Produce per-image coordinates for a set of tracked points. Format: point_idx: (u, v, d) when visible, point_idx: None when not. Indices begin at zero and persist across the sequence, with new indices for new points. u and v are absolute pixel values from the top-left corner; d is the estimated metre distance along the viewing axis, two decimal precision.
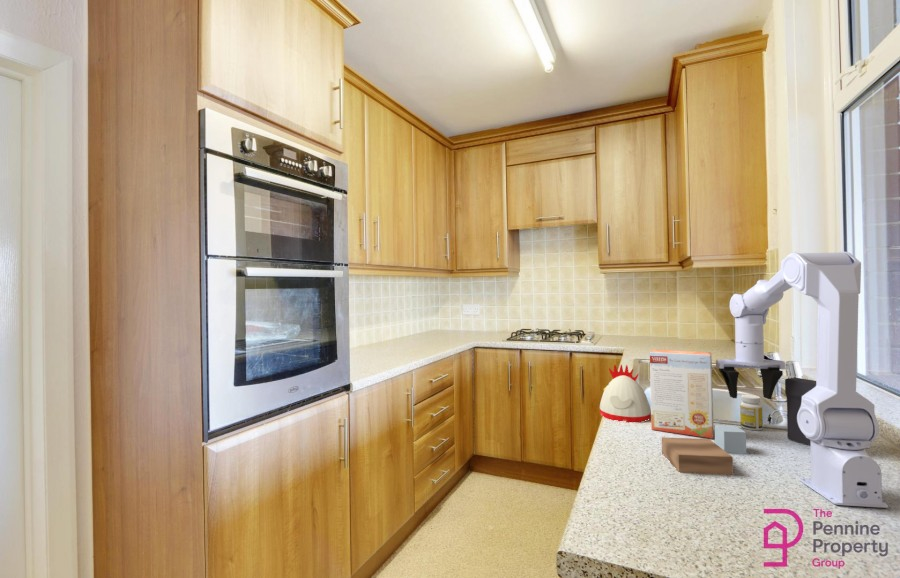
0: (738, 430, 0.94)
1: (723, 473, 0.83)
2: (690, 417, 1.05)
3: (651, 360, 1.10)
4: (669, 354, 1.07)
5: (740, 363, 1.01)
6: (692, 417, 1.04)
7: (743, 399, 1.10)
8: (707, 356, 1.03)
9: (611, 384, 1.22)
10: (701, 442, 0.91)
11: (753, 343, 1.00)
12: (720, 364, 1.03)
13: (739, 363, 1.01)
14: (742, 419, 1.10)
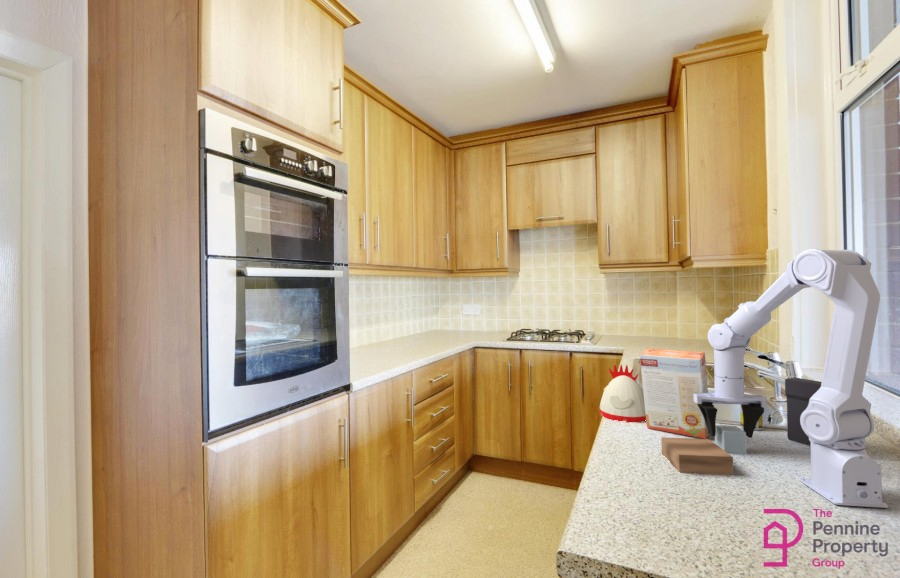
0: (738, 430, 0.94)
1: (723, 473, 0.83)
2: (683, 418, 1.04)
3: (642, 363, 1.08)
4: (659, 357, 1.05)
5: (719, 399, 0.94)
6: (685, 418, 1.04)
7: None
8: (696, 360, 0.99)
9: (611, 384, 1.22)
10: (701, 442, 0.91)
11: (733, 378, 0.93)
12: (698, 399, 0.96)
13: (718, 399, 0.94)
14: (742, 419, 1.10)
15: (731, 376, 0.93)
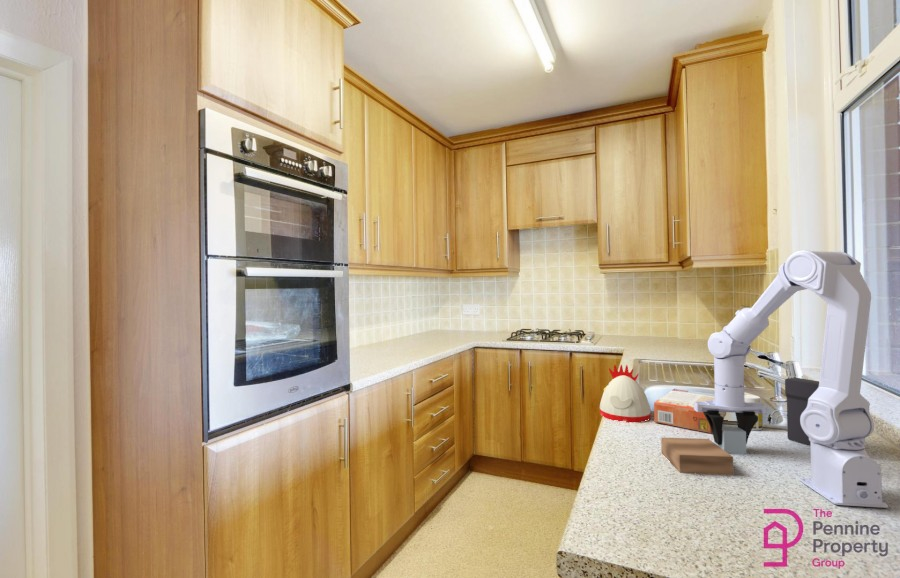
0: (738, 429, 0.94)
1: (723, 473, 0.83)
2: None
3: (673, 389, 1.28)
4: (690, 391, 1.27)
5: (719, 407, 0.94)
6: None
7: None
8: None
9: (611, 384, 1.22)
10: (701, 442, 0.91)
11: (733, 386, 0.93)
12: (698, 407, 0.96)
13: (718, 407, 0.94)
14: None
15: (731, 384, 0.93)
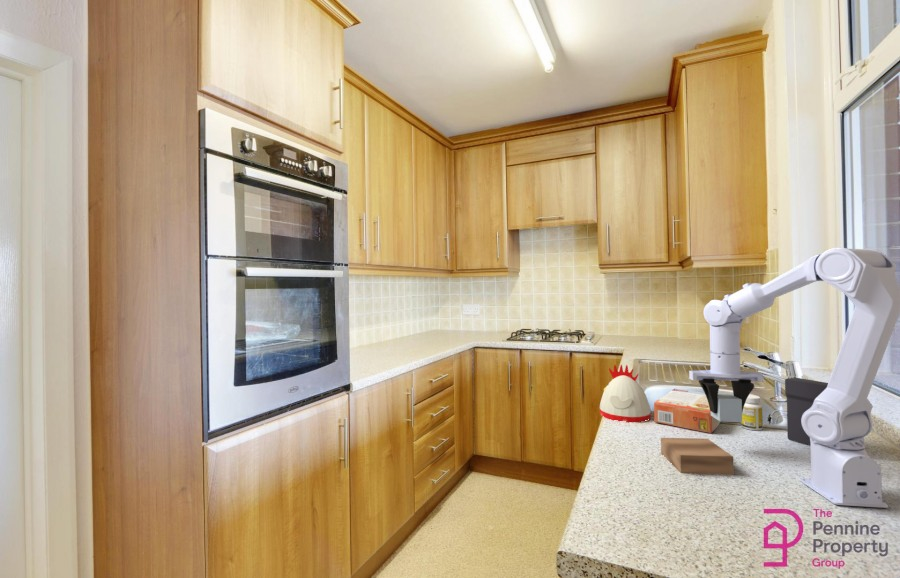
0: (734, 397, 0.94)
1: (724, 473, 0.83)
2: (694, 404, 1.12)
3: (673, 389, 1.28)
4: (690, 391, 1.27)
5: (714, 375, 0.93)
6: (696, 404, 1.12)
7: None
8: None
9: (611, 384, 1.22)
10: (700, 442, 0.91)
11: (728, 353, 0.92)
12: (693, 376, 0.95)
13: (713, 375, 0.93)
14: (742, 419, 1.10)
15: (728, 352, 0.92)
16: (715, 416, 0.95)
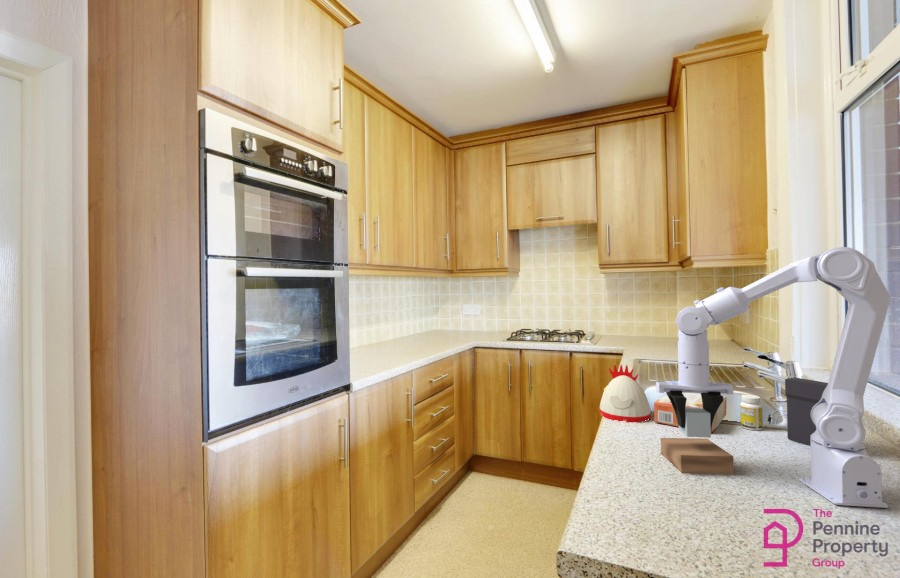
0: (703, 411, 0.87)
1: (724, 473, 0.83)
2: (694, 404, 1.12)
3: None
4: None
5: (682, 387, 0.87)
6: (696, 404, 1.12)
7: (743, 399, 1.10)
8: None
9: (611, 384, 1.22)
10: (700, 442, 0.91)
11: (696, 364, 0.86)
12: (660, 388, 0.89)
13: (681, 387, 0.87)
14: (742, 419, 1.10)
15: (704, 362, 0.86)
16: (683, 431, 0.89)
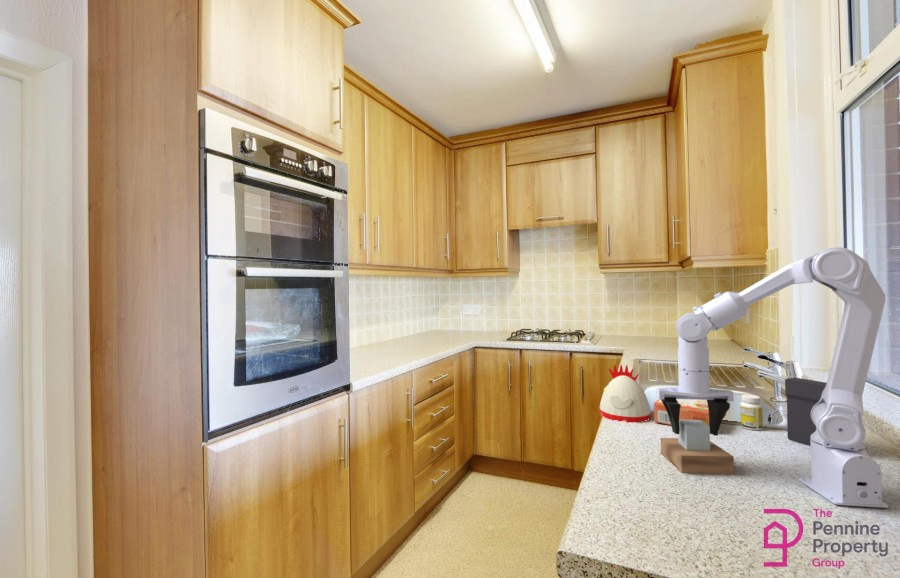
0: (702, 424, 0.87)
1: (724, 473, 0.83)
2: (694, 404, 1.12)
3: None
4: None
5: (682, 394, 0.87)
6: (696, 404, 1.12)
7: (743, 399, 1.10)
8: None
9: (611, 384, 1.22)
10: None
11: (696, 371, 0.86)
12: (660, 394, 0.89)
13: (681, 394, 0.87)
14: (742, 419, 1.10)
15: (704, 369, 0.86)
16: (682, 444, 0.89)
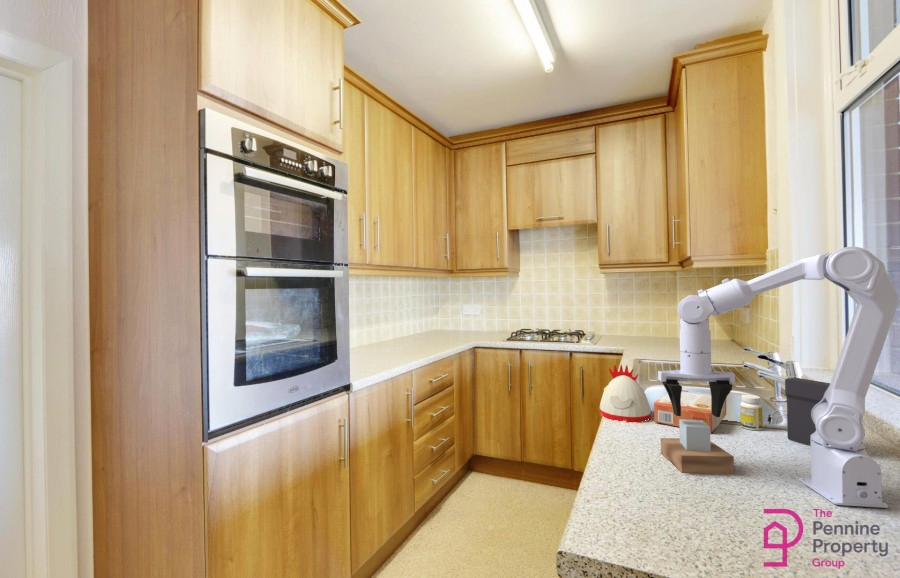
0: (703, 425, 0.87)
1: (724, 473, 0.83)
2: (694, 404, 1.12)
3: None
4: (690, 391, 1.27)
5: (684, 375, 0.87)
6: (696, 404, 1.12)
7: (743, 399, 1.10)
8: None
9: (611, 384, 1.22)
10: None
11: (698, 352, 0.86)
12: (662, 376, 0.89)
13: (683, 375, 0.87)
14: (742, 419, 1.10)
15: (706, 350, 0.86)
16: (683, 444, 0.89)
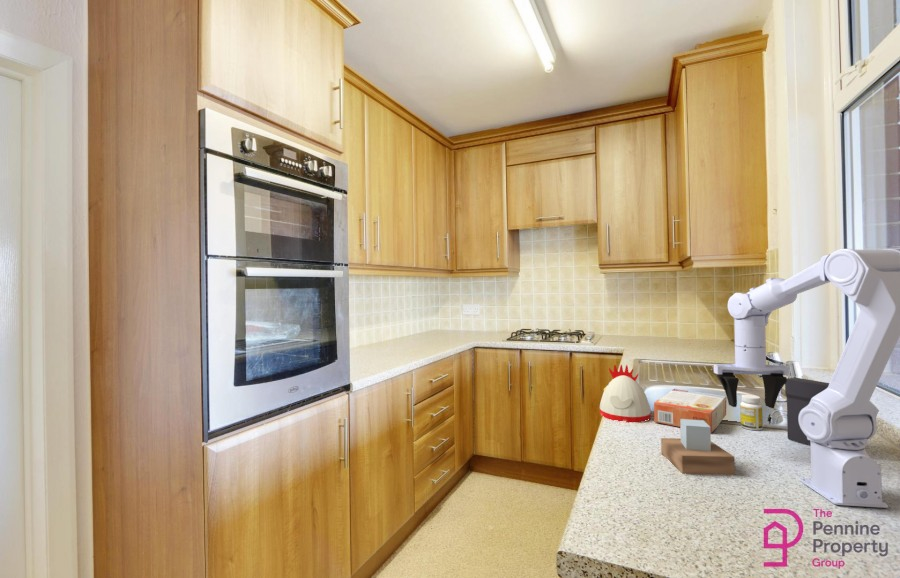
0: (703, 424, 0.87)
1: (725, 473, 0.83)
2: (694, 404, 1.12)
3: (673, 389, 1.28)
4: (690, 391, 1.27)
5: (740, 369, 0.92)
6: (696, 404, 1.12)
7: (743, 399, 1.10)
8: None
9: (611, 384, 1.22)
10: None
11: (754, 347, 0.91)
12: (718, 370, 0.94)
13: (739, 369, 0.92)
14: (742, 419, 1.10)
15: (750, 345, 0.92)
16: (683, 443, 0.89)
